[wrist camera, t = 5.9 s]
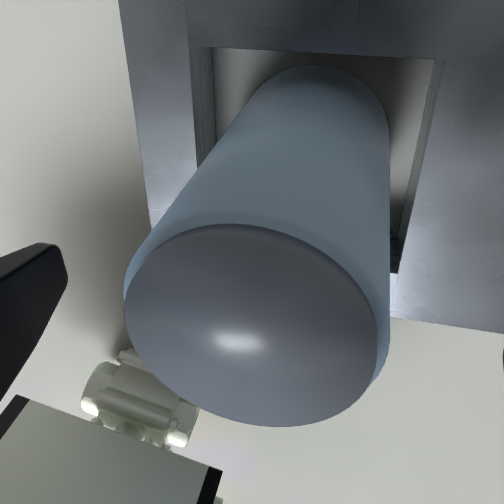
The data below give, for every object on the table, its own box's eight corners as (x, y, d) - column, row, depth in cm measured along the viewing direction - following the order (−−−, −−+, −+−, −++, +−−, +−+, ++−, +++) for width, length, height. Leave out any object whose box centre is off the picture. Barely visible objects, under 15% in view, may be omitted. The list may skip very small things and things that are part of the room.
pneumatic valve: (49, 304, 23) (-192, 582, 13) (279, 388, 23) (199, 736, 13) (50, 373, 26) (-142, 635, 17) (250, 447, 26) (170, 758, 16)
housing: (949, -27, 10) (1056, -16, 8) (692, 322, 16) (726, 368, 14) (145, -43, 13) (113, -36, 12) (178, 250, 19) (159, 281, 18)
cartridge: (402, 70, 13) (417, 249, 6) (376, 216, 16) (367, 454, 9) (238, 60, 14) (88, 207, 7) (240, 200, 17) (134, 406, 10)
